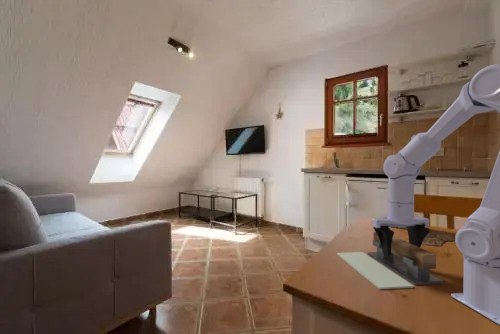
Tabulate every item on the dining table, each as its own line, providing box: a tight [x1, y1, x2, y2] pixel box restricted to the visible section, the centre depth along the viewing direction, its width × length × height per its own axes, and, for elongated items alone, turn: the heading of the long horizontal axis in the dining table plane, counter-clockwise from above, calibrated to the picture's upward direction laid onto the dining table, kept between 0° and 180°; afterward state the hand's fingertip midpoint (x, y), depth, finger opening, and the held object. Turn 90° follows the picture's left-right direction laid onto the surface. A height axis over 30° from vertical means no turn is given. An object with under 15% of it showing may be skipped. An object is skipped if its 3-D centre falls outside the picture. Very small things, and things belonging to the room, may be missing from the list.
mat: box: [336, 251, 415, 290], centre depth 62 cm, size 20×8×1 cm, turn 6°
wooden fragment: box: [421, 230, 455, 247], centre depth 88 cm, size 26×11×1 cm, turn 123°
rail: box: [373, 231, 437, 270], centre depth 63 cm, size 18×3×3 cm, turn 6°
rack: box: [366, 239, 444, 286], centre depth 63 cm, size 18×7×5 cm, turn 6°
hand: (400, 254), depth 63 cm, fingers open, 7 cm apart
